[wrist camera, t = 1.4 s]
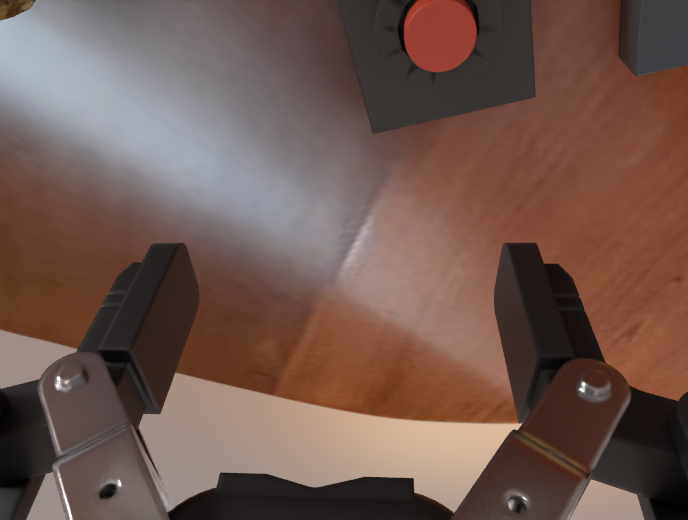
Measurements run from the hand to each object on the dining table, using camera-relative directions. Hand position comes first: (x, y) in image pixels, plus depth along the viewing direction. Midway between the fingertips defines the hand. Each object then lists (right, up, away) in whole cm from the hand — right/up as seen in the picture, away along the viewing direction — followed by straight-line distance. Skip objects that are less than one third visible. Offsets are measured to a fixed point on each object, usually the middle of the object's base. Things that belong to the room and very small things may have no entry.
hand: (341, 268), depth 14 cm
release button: (+5, +13, +15) cm, 20 cm away
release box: (+5, +15, +18) cm, 24 cm away
